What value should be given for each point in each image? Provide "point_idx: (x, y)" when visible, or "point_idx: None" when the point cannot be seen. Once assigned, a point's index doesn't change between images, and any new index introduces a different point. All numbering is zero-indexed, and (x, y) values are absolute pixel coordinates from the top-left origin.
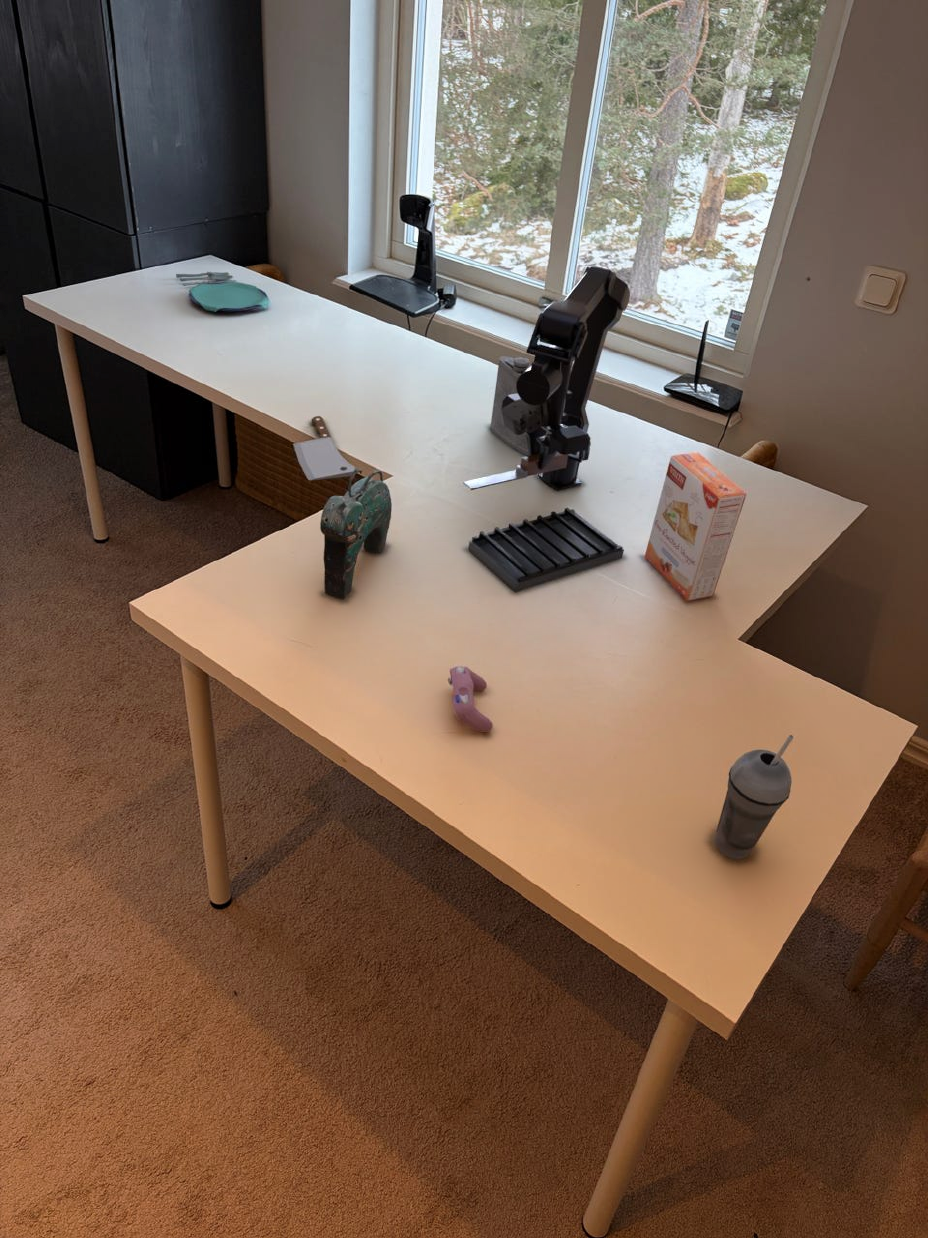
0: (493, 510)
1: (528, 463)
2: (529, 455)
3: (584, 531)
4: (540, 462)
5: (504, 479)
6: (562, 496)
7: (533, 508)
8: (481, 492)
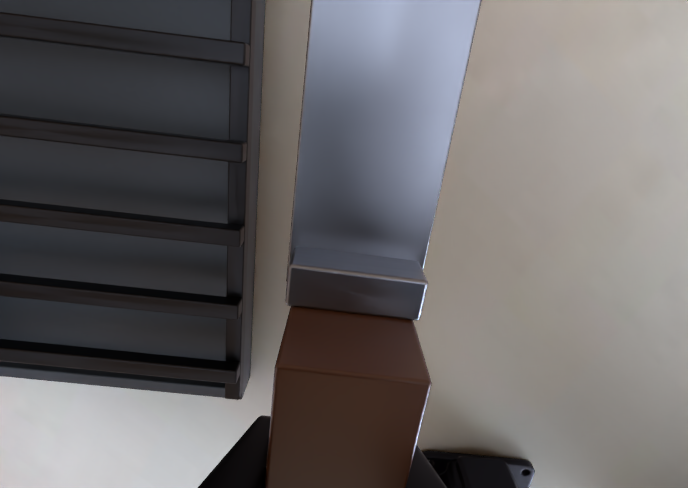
0: (469, 167)
1: (283, 357)
2: (434, 479)
3: (150, 350)
4: (231, 471)
5: (339, 15)
6: None
7: None
8: (600, 221)
